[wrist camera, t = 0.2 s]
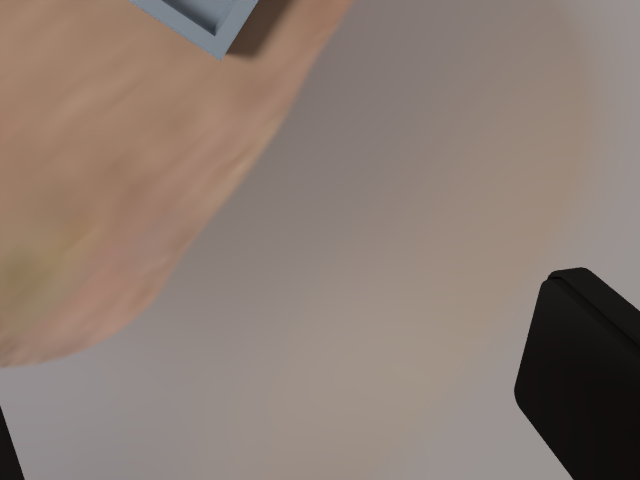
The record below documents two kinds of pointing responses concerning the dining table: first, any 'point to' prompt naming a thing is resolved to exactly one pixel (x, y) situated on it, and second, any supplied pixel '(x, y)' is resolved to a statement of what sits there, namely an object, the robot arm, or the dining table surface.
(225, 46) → the tray
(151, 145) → the dining table surface
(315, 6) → the dining table surface
